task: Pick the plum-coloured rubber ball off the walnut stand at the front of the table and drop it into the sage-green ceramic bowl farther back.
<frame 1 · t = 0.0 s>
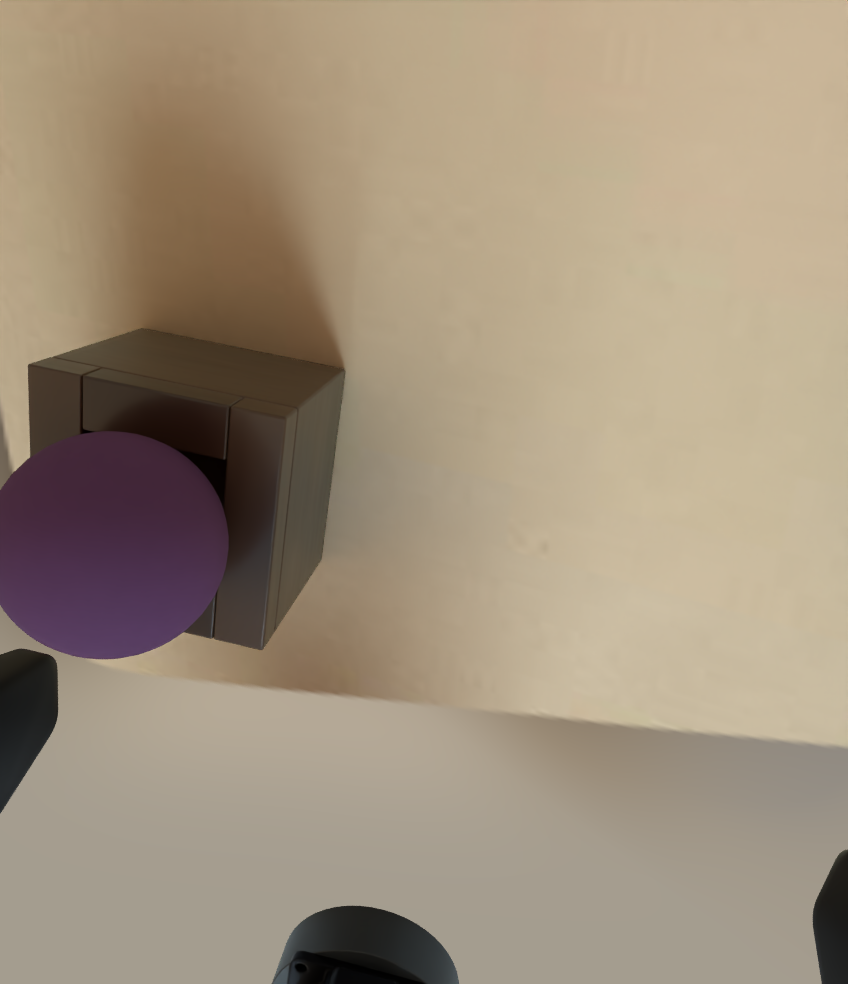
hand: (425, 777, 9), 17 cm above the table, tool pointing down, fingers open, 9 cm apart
ball: (112, 544, 20), point 8 cm above the table, touching stand
stand: (234, 448, 27), on the table
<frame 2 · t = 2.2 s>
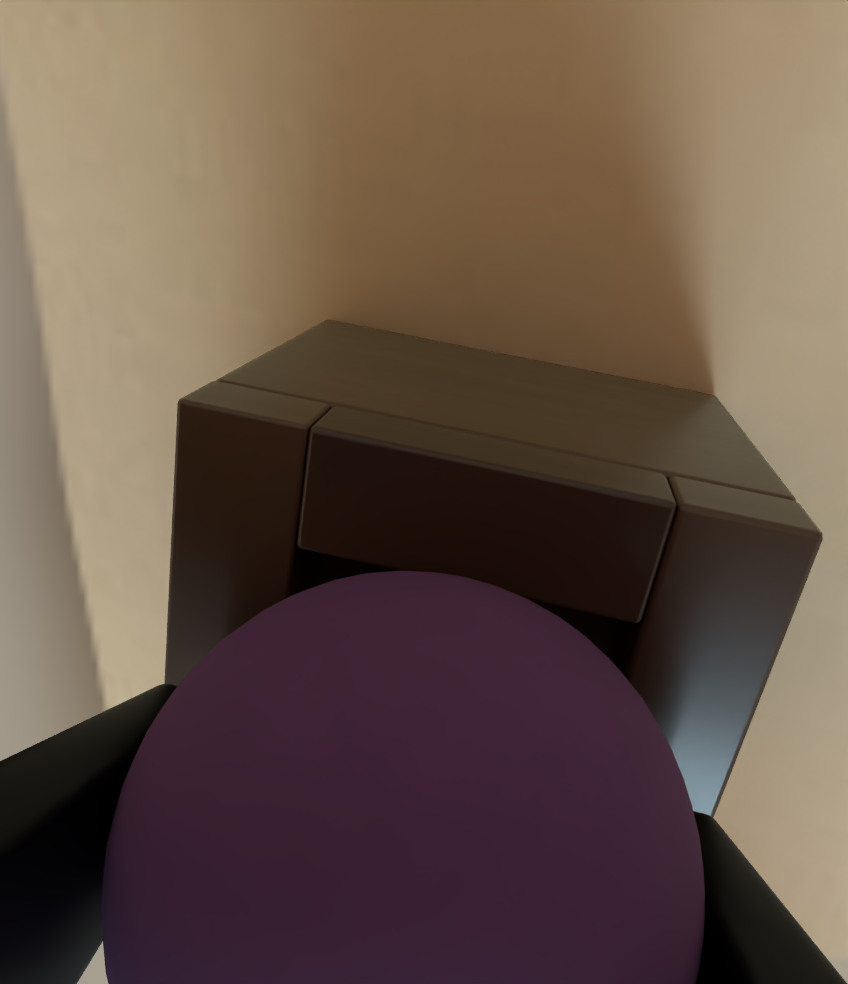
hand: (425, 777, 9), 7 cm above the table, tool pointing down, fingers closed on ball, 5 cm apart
ball: (405, 853, 8), point 8 cm above the table, touching gripper, stand
stand: (480, 534, 15), on the table
when the fingers open (3 cm above the table, at t = 8.3 s): ball drops 1 cm, resting on bowl.
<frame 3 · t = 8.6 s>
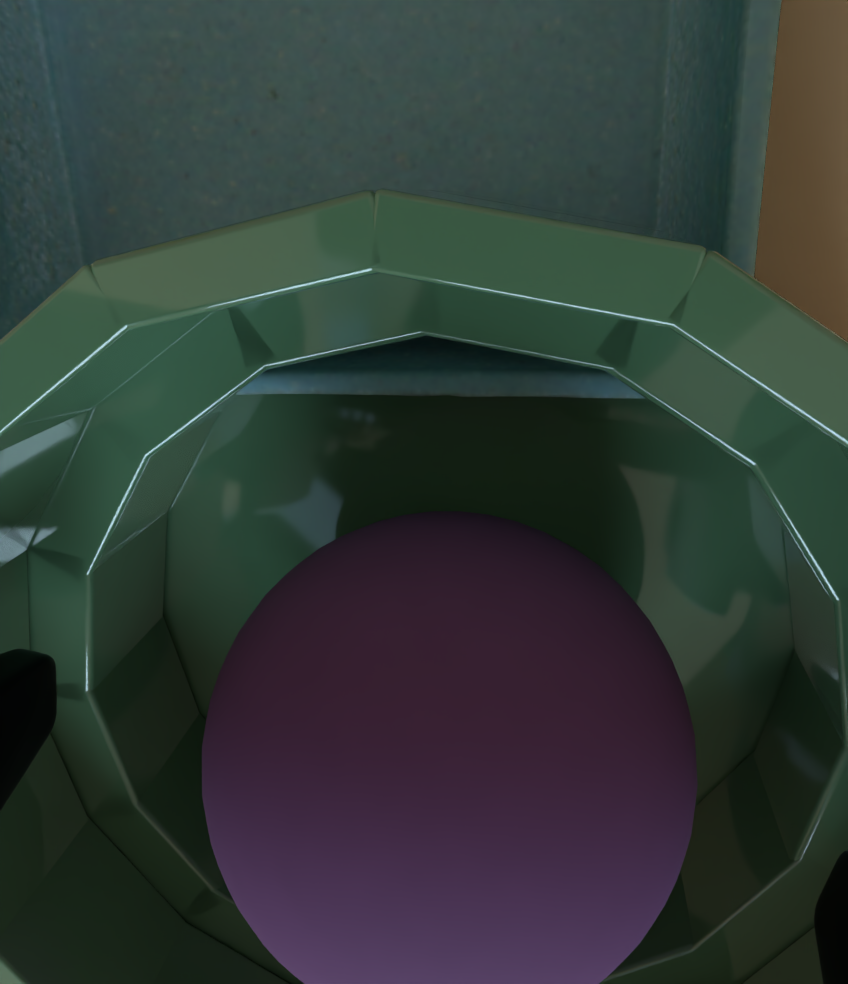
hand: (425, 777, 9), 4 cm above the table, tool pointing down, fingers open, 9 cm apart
bowl: (463, 609, 13), on the table
ball: (447, 747, 9), point 3 cm above the table, touching bowl
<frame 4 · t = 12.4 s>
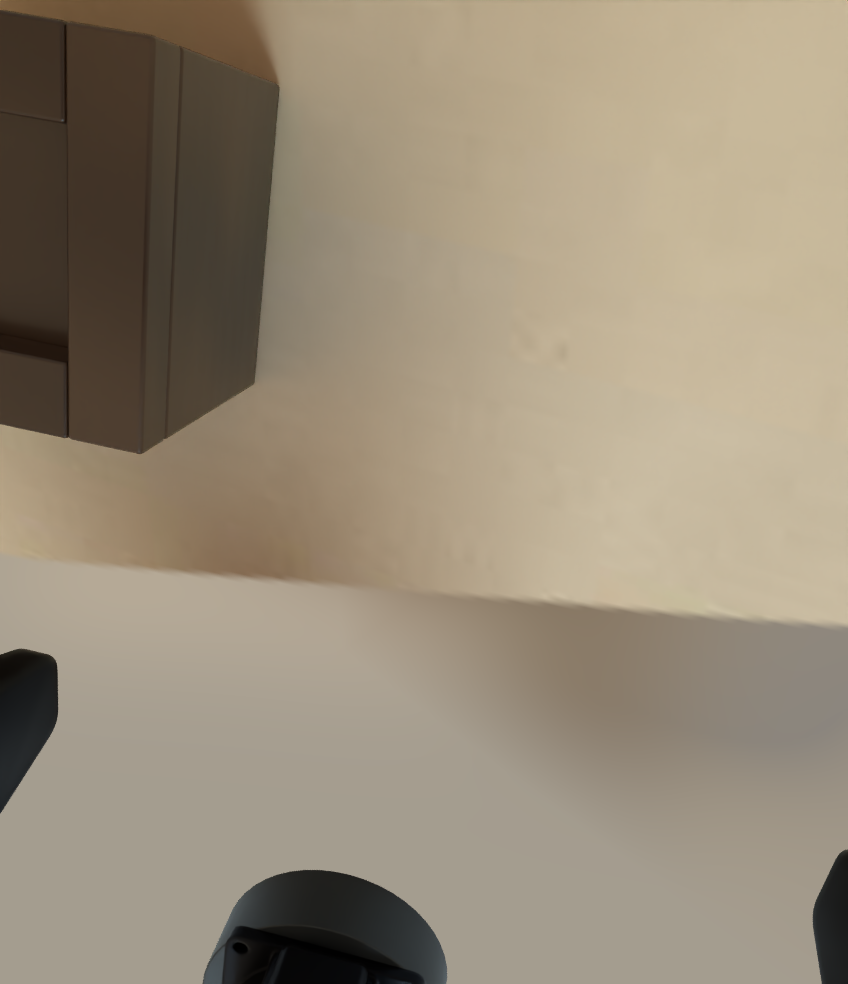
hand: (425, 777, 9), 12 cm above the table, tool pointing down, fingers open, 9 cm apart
stand: (130, 219, 19), on the table
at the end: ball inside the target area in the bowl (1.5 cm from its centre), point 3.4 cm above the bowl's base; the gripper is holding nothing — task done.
